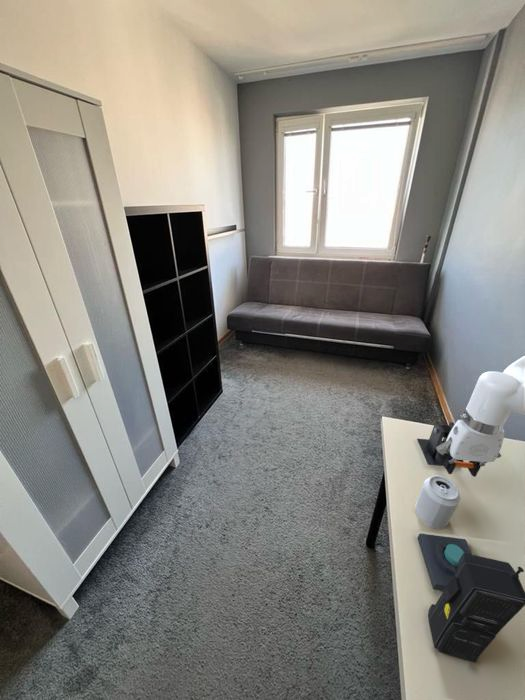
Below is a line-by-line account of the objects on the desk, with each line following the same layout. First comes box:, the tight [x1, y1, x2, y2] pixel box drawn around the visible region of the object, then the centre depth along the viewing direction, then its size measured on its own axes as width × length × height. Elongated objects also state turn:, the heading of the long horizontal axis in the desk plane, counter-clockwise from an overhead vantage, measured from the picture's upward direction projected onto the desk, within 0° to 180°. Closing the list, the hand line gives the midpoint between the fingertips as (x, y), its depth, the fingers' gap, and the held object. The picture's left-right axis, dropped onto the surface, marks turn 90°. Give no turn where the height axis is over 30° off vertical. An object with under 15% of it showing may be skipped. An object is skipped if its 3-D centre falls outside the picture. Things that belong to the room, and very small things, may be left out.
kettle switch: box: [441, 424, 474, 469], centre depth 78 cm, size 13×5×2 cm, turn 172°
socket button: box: [444, 544, 464, 567], centre depth 60 cm, size 4×4×2 cm
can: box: [414, 475, 461, 530], centre depth 68 cm, size 8×8×12 cm
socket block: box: [417, 533, 473, 591], centre depth 61 cm, size 10×10×4 cm
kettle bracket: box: [416, 420, 461, 469], centre depth 85 cm, size 10×9×12 cm
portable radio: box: [427, 553, 525, 663], centre depth 46 cm, size 8×6×25 cm
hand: (459, 470), depth 75 cm, fingers open, 5 cm apart
